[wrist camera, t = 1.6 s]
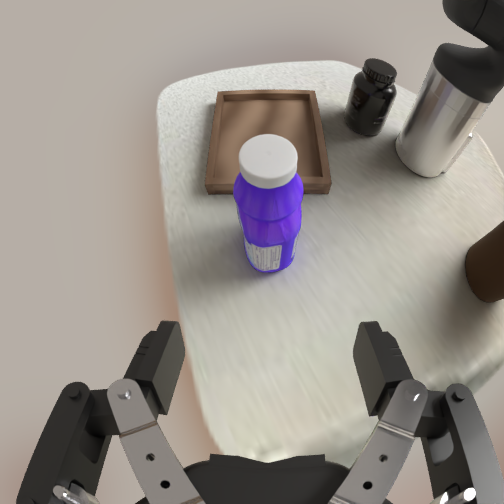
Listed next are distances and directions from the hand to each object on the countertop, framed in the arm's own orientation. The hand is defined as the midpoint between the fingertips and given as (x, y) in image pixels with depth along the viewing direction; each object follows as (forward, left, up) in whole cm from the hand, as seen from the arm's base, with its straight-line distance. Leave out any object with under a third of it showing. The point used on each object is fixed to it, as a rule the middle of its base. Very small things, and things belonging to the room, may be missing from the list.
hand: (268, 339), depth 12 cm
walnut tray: (0, -29, -20) cm, 35 cm away
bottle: (0, -12, -20) cm, 23 cm away
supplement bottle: (-16, -34, -20) cm, 43 cm away
